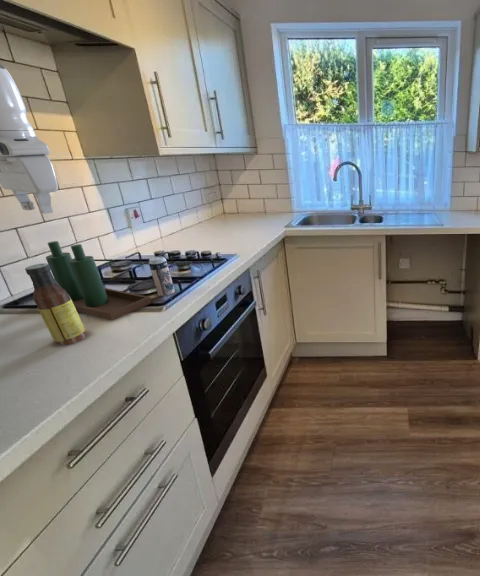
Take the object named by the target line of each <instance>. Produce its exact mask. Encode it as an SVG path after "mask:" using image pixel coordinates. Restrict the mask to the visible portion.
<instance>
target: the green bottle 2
mask: <svg viewBox="0 0 480 576" xmlns="http://www.w3.org/2000/svg"><path fill="white" fill-rule="evenodd" d="M70 249H71V252H72V254H73V257H74V258H72V259H71V260H69V264H70V266H71V269H72V272H73V274H74V277H75V279H76V282H77V284H78V287H79V290H80V292H81V295H82V297H83V300H84V303H85V305H86V306H87V307H96V306H100V305H103V304H105V303H107V302H108V301H109V300H108V297H107V294H106V292H105V289H104V288H105V286H104V283H103V281H102V277H101V275H100V272H99V269H98V267H97V264H96V261H95V259H94V256H92V255H86V254H85V250H84V249H83V245H82V244H81V243H79V244H73V245H70Z"/></svg>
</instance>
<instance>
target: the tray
mask: <svg viewBox="0 0 480 576" xmlns="http://www.w3.org/2000/svg"><path fill="white" fill-rule="evenodd" d="M104 289H105V292H106V294H107V297H108V300H109V301H108V302H107V303H105V304H103V305H100V306H96V307H87V306H86V305H85V303H84V300H83V298H82V299H80V300H76V301H72V302H73V304H74V306H75V308H76V311H77V313H81V314H84V315H88V316H93V317H96V318H101V319H105V320H109V321H114V320H116V319H118V318H121V317H123V316H125V315H128V314H131V313H132V312H134V311H137V310H139V309H141V308H144V307H147V306H148V305H151V304H152V300H151V296H148V295H142V294H137V293H132V292H127V291H122V290H117V289H112V288H107V287H104ZM121 295H122V296H121Z"/></svg>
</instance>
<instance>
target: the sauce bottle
mask: <svg viewBox="0 0 480 576" xmlns="http://www.w3.org/2000/svg"><path fill="white" fill-rule="evenodd" d="M24 270H25V273H26V274H27V275H28V276H29V277H30V281H31V282H32V286H33V287H34V289H33V293H32V295H33V296H32V298H33V299H32V300H33V301H34V303H35V305H36V307H37V310H38V312H39V315H40V316H41V318H42V320H43V322H44V324H45V326H46V328H47V329H48V332H49V334H50V336H51V338H52V340H53V341H54V342H55V343H56V345H57V346H67V345H72V344H75V343H77V342H80V341H82V340H83V339H85V338H86V337H87V335H88V334H87V332H86V327H85V325H84V323H83V321H82V319H81V317H80V315H79V312H77V311H76V308H75V306H74V304H73V302H72V300H71V298H70V296H69V295H68V293H67V292H66V291H65V290H64V289H62V288H61V287H60V285H59V284H58V283H57V282H56V281H55V279H54V277H53V274H52V272H51V268H50V267H49V265H48V263H46V262H45V263H42V262H41V263H36V264H33V265H29V266H26V267H25V268H24Z"/></svg>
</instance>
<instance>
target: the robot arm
mask: <svg viewBox="0 0 480 576" xmlns="http://www.w3.org/2000/svg"><path fill="white" fill-rule="evenodd" d="M48 155H51V151H50V148H49V146H48V144H47V143H45V142H44V141H42V140H41V139H39V137H37V135H36V132H35V130H34V127H33V126H32V125H31V123H30V122H29V120H28V117H27V108H26V106H25V103H24V100H23V97H22V94H21V92H20V90H19V88H18V86H17V84H16V82H15V80H14V78H13V76H12V75H11V73H10V71H8V69H7V68H6V67H5V66H3V65H2V64H0V186H1V187H2V189H3V190H8V191H12V194H13V195H14V197H15V198H16V200H17V201H18V202H19V204H20V206H21V209H23V210H24V211H34V210H35V205H34V202H33V201H32V200H31V199H30V197H29V195H28V193H31V194H34V197H35V198H36V199H37V203H38V205H37V207H38V209H39V212H40V213H41V214H45V215H46V214H52V213H53V212H54V209H53V207H52V196H51V194H50V193H56V192H58V190H59V184H58V179H57V177H56V173H55V169H54V166H53V164H52V161H51V159H50V157H49V156H48Z"/></svg>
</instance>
